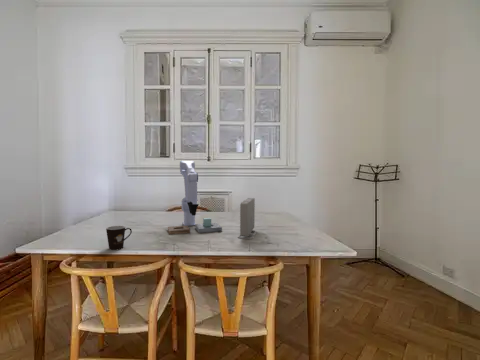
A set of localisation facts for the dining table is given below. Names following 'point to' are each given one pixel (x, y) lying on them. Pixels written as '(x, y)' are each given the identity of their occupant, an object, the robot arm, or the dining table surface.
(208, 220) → the plug
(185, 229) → the brown square frame
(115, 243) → the coffee mug
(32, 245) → the dining table surface
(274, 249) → the dining table surface
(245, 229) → the network device
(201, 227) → the port plate
